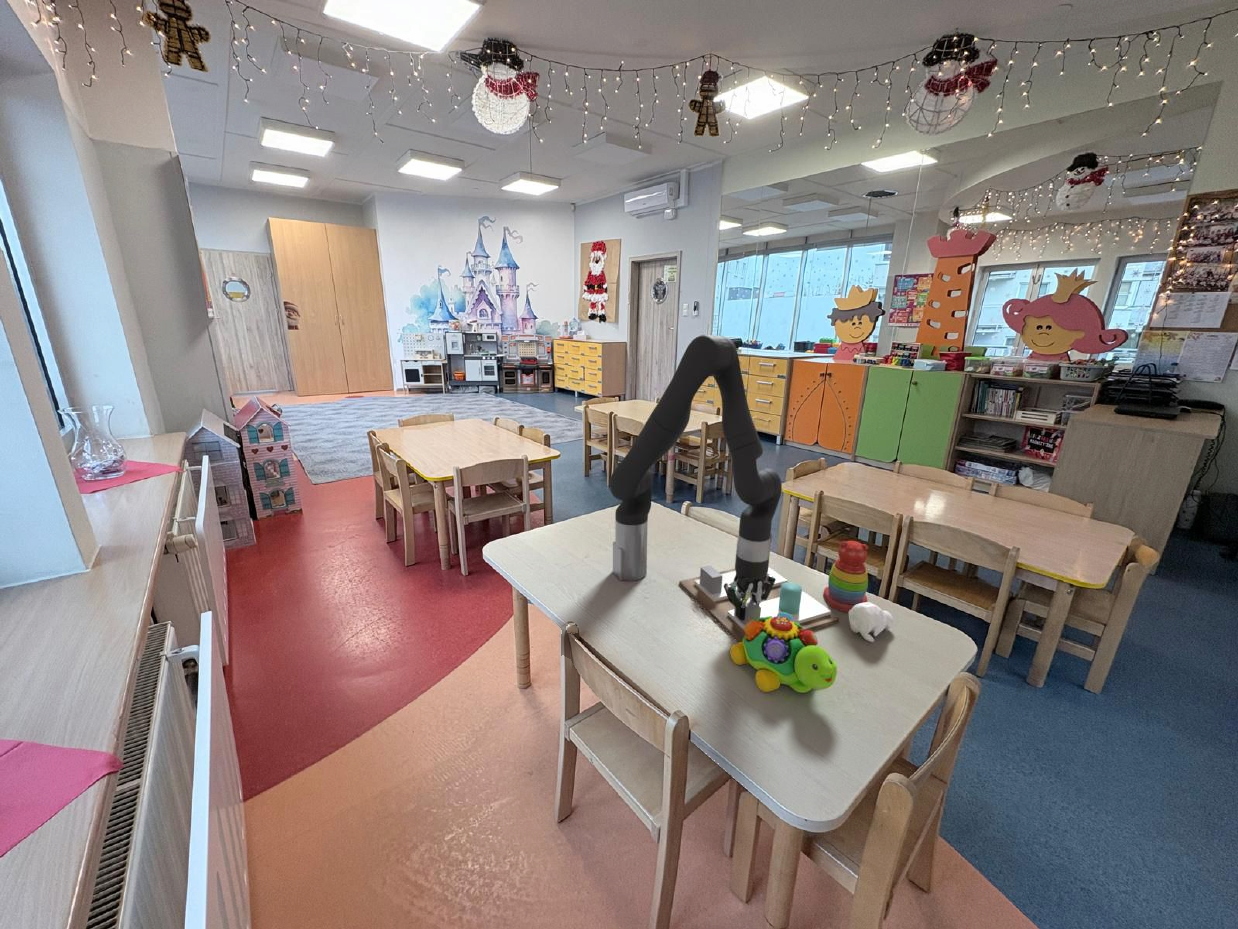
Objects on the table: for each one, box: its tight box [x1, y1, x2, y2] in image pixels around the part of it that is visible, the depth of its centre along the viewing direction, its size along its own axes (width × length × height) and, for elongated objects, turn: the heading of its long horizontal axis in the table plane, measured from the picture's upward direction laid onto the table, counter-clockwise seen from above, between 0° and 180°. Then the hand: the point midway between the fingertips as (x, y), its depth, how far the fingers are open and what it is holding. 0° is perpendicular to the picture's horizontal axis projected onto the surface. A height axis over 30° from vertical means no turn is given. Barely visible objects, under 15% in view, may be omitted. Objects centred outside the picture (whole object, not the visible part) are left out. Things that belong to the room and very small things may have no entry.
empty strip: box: [694, 564, 788, 602], centre depth 139 cm, size 24×10×6 cm, turn 113°
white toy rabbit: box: [848, 601, 894, 643], centre depth 120 cm, size 6×8×12 cm
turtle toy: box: [729, 612, 838, 693], centre depth 105 cm, size 17×23×12 cm
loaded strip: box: [727, 590, 832, 630], centre depth 125 cm, size 24×10×6 cm, turn 113°
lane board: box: [678, 568, 841, 644], centre depth 133 cm, size 28×31×1 cm
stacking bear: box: [823, 540, 869, 613], centre depth 130 cm, size 11×10×18 cm
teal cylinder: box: [779, 581, 803, 614], centre depth 125 cm, size 5×5×6 cm
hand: (746, 616), depth 121 cm, fingers closed on loaded strip, 3 cm apart
